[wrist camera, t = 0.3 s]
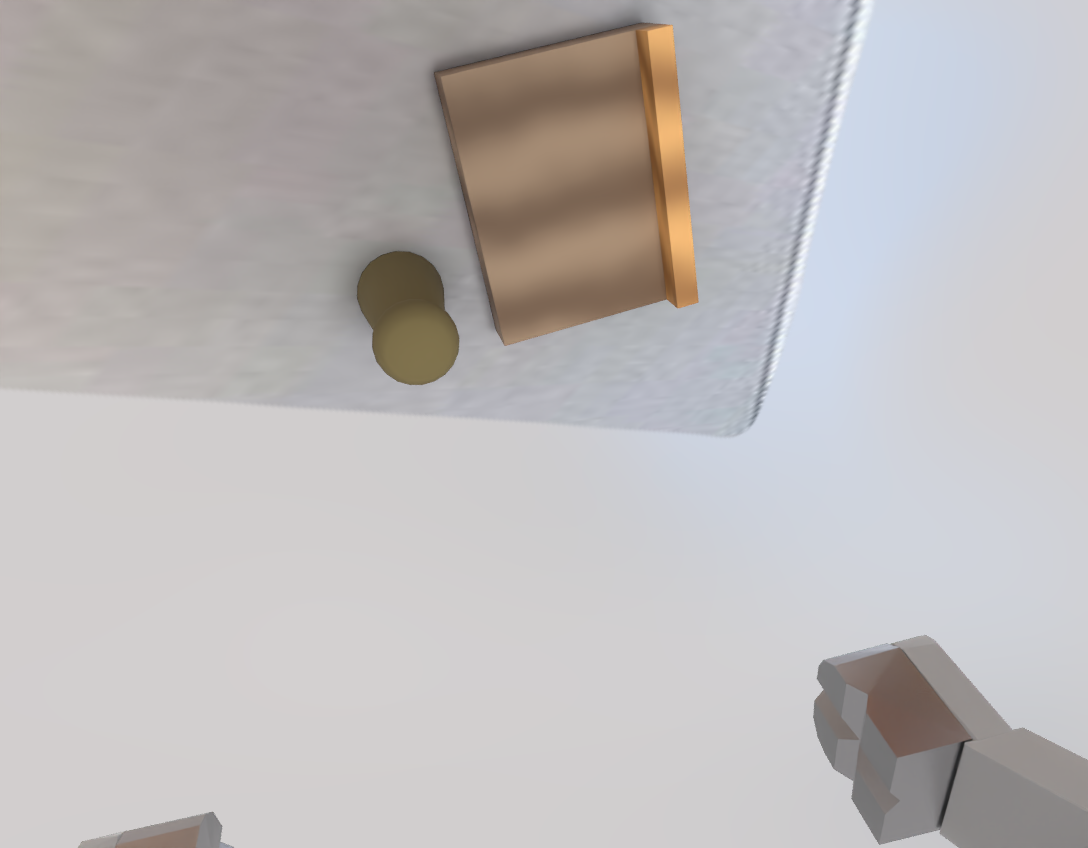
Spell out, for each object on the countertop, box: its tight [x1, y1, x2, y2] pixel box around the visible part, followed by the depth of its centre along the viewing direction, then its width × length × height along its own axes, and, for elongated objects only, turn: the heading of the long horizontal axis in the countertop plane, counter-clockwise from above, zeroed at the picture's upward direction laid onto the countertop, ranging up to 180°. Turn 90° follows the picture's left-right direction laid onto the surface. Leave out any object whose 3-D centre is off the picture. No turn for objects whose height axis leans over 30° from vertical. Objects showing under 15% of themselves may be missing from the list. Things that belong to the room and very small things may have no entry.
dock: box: [434, 23, 698, 346], centre depth 53 cm, size 18×14×5 cm
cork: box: [357, 251, 459, 385], centre depth 51 cm, size 6×6×11 cm
